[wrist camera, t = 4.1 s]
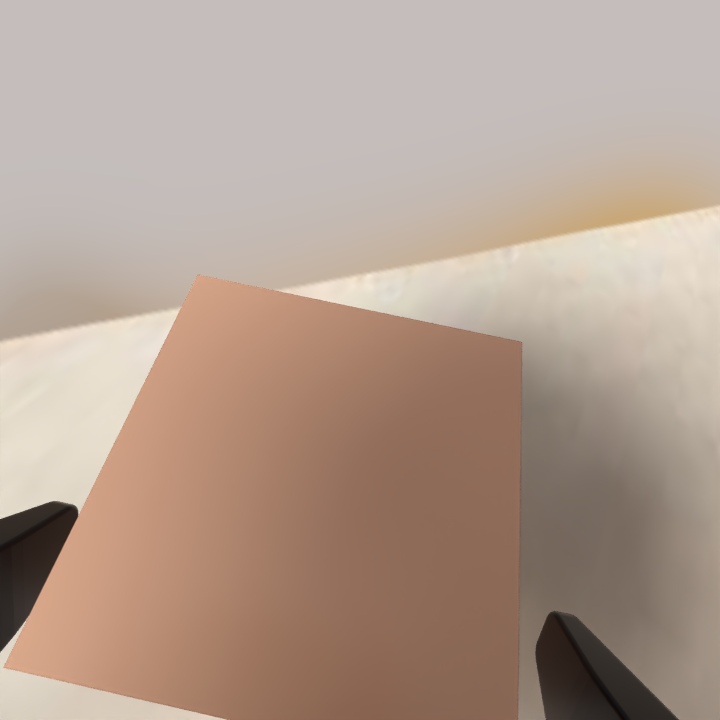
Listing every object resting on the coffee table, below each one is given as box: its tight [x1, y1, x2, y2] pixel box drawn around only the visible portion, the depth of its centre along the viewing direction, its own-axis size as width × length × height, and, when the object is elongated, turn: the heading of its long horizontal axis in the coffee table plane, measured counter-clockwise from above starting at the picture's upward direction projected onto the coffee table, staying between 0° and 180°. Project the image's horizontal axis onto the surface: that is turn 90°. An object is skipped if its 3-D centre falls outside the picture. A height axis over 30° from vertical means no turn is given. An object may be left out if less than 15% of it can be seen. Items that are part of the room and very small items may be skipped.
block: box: [4, 275, 522, 720], centre depth 10 cm, size 4×4×13 cm
